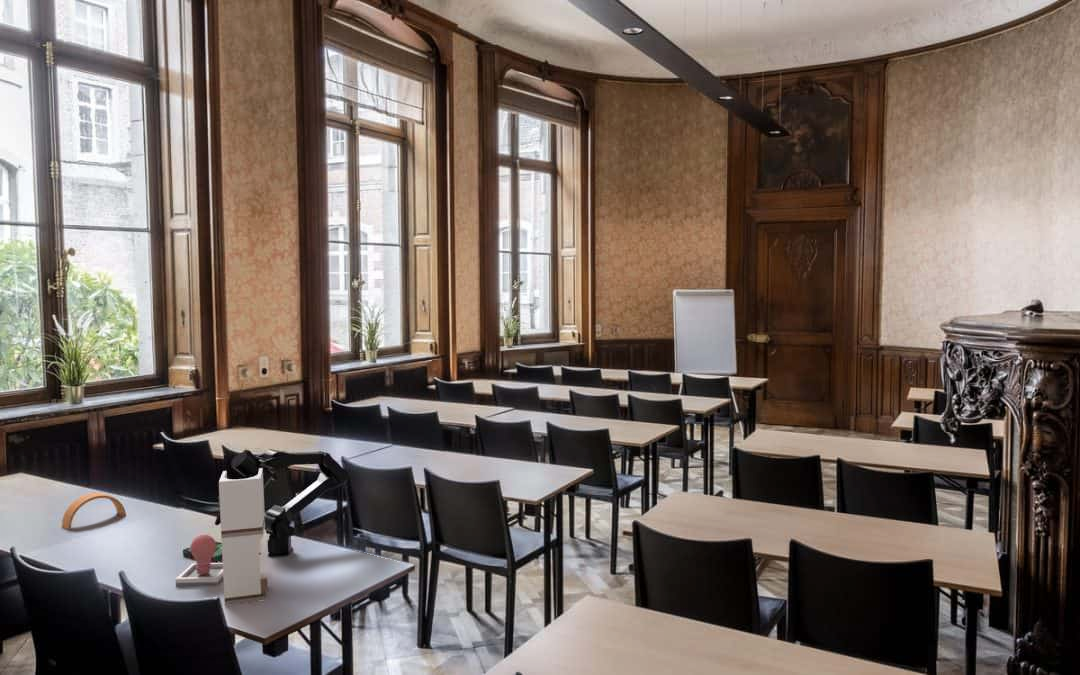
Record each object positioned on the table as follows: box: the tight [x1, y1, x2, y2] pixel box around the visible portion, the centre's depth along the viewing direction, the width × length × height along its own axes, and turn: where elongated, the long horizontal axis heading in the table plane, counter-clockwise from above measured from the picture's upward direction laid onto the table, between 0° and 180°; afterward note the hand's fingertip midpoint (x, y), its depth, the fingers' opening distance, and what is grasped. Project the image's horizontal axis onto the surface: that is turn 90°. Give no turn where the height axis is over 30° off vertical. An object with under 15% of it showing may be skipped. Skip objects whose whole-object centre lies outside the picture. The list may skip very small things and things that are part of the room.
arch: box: [61, 492, 127, 531], centre depth 286 cm, size 6×20×10 cm, turn 141°
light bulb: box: [189, 534, 217, 575], centre depth 232 cm, size 7×7×12 cm
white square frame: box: [175, 562, 224, 587], centre depth 233 cm, size 12×12×2 cm
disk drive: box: [182, 541, 223, 563], centre depth 251 cm, size 10×3×15 cm
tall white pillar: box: [218, 467, 269, 606], centre depth 219 cm, size 11×11×35 cm
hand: (223, 527), depth 237 cm, fingers open, 9 cm apart
